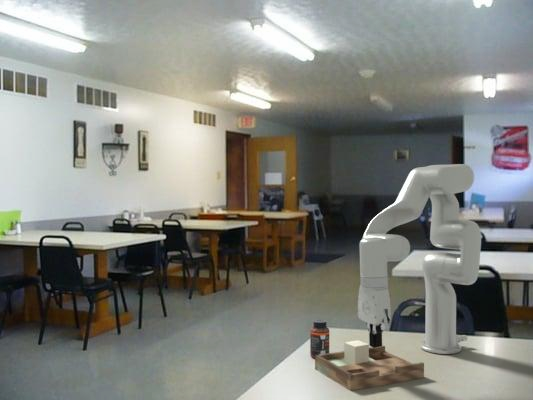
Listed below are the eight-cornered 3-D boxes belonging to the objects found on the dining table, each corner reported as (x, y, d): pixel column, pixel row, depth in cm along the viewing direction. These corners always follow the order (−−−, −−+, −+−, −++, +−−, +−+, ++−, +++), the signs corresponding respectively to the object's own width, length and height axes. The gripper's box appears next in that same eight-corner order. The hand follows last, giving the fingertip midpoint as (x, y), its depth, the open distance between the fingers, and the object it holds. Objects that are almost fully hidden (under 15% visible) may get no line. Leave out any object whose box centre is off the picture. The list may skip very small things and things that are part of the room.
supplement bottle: (328, 360, 171) (328, 323, 171) (309, 359, 172) (309, 322, 172) (330, 354, 177) (330, 319, 177) (311, 353, 178) (311, 318, 178)
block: (357, 356, 166) (357, 340, 166) (368, 361, 162) (368, 344, 162) (344, 359, 164) (344, 342, 164) (354, 364, 159) (355, 346, 159)
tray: (383, 358, 173) (383, 345, 173) (423, 377, 156) (424, 363, 155) (315, 368, 163) (315, 355, 163) (350, 390, 146) (350, 375, 146)
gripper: (348, 279, 162) (350, 341, 163) (378, 288, 148) (380, 356, 149) (369, 276, 165) (371, 337, 166) (401, 285, 151) (403, 351, 152)
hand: (375, 346), depth 158 cm, fingers closed
